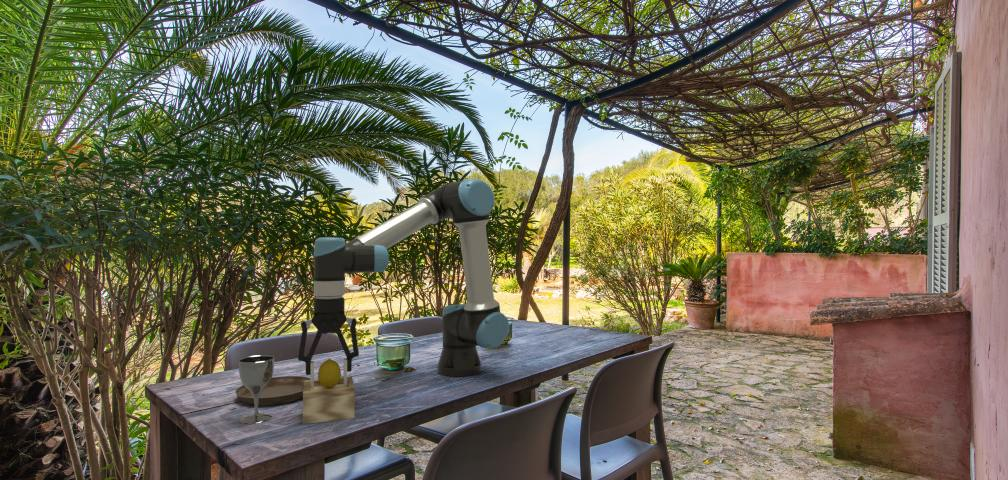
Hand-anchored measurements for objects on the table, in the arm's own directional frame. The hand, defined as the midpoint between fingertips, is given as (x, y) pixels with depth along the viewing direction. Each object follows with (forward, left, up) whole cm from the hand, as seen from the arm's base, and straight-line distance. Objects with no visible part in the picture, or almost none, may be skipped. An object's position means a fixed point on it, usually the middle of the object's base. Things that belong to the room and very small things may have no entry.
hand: (328, 385), depth 127 cm
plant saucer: (+14, -21, -8) cm, 26 cm away
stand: (0, 0, -7) cm, 7 cm away
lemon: (0, 0, -1) cm, 1 cm away
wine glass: (+17, -2, -7) cm, 19 cm away
